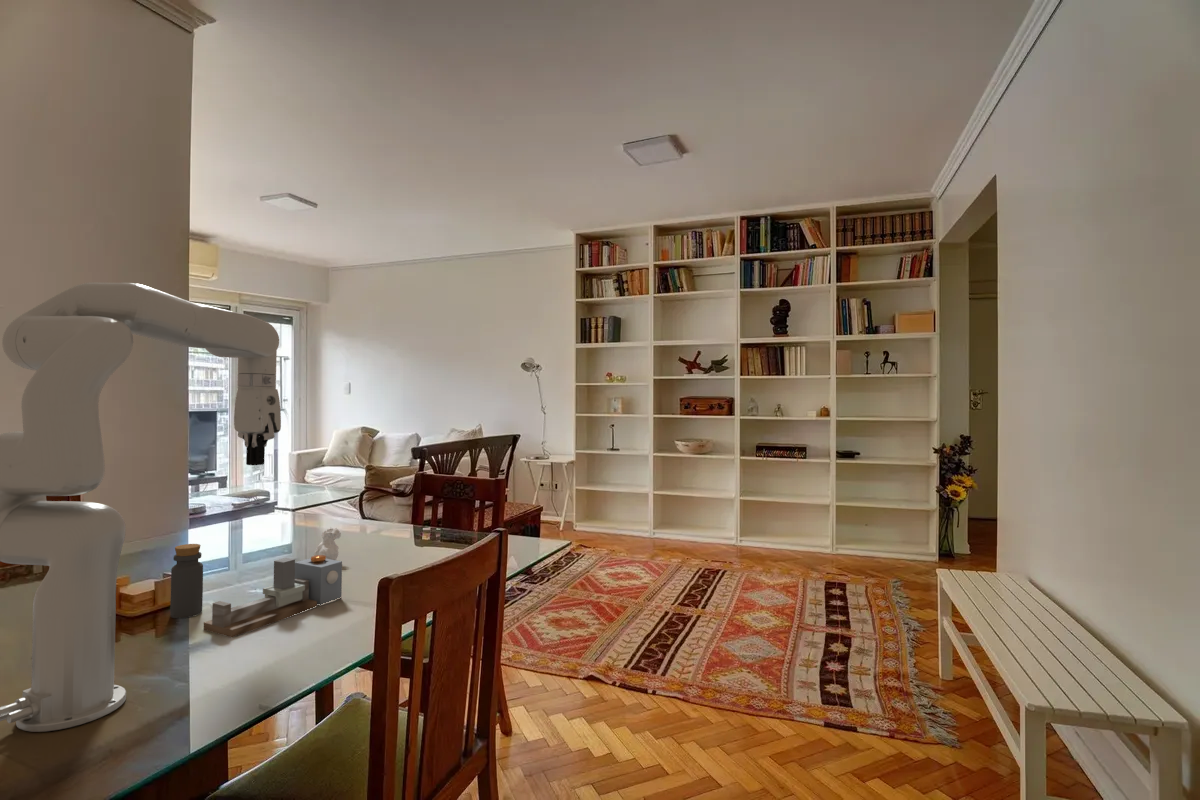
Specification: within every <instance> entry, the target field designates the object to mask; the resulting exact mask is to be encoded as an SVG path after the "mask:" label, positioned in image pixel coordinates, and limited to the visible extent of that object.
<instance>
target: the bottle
mask: <svg viewBox="0 0 1200 800" xmlns="http://www.w3.org/2000/svg"><path fill="white" fill-rule="evenodd" d="M200 549H201V544H199V543H187V544H180V545H177V546H175V547H174V551H175V554H174V555H173V561H175V562H176V564H174V565H173V566H172V567H171V569H170V570H171V571H170V572H171V573H170V575H171V576H170V605H169V606H170V611H169V612H170V618H172V619H186V618H192V617H195V616H198V615H200V614H201V613H202V612H203V595H204V594H203V593H204V592H203V590H204V564H203V563H202V562H200V561H199V559H201V558H202V552H201V551H200Z"/></svg>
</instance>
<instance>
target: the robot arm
mask: <svg viewBox="0 0 1200 800" xmlns="http://www.w3.org/2000/svg"><path fill="white" fill-rule="evenodd" d="M134 335H135V336H139V337H143V338H147V339H152V340H155V341H158V342H159V341H160V342H163V343H167V344H171V345H174V346H179V347H185V348H194V349H205V350H206V351H207V352H208V353H209V354H211V355H213V356H215V357H219V358H235V359H236V358H237V381H236V382H237V387H236V388H237V389H236V391H237V392H236V396H235V400H234V401H235V402H234V411H233V412H234V413H233V427H234V430H235V431H236V432H237V437H238V438H240V439H243V441H244V446H245V447H246V450H245V451H246V459H245V463H246V465H247V466H263V465H265V457H266V455H265V453H266V452H265V450H266V449H265V448H266V447H267V444H268V441H270V440H273V439H275V434H277V433H279V432H280V431H281V427H282V412H281V402H280V401H281V400H280V396H279V391H278V389H277V359H278V357H277V356H278V355H277V351H278V348H279V347H280V346H279V345H280V337H279V334H278V332H277V329H276V328H275V327H274V326H273V325H272V324H271V323H269V322H268V321H266V320H263V319H260V318H258V317H255V316H252V315H249V314H247V313H241V312H236V311H232V310H227V309H223V308H219V307H214V306H210V305H205V304H200V303H197V302H196V303H195V302H192V301H189V300H186V299H183V298H181V297H179V296H176V295H173V294H169V293H168V292H164V291H161V290H159V289H156V288H153V287H150V286H147V285H146V284H145V285H144V284H140V283H136V282H135V283H134V282H84V283H80V284H77V285H74V286H72V287H69V288H68V289H67V288H66V289H65V290H63V291H61V292H60V293H59V292H58V293H57V294H56V295H54V296H52V297H50V298H48V299H47V300H45V301H44V302H42V303H39V304H38V305H36V306H35V307H33V308H31V309H29V310H27V311H26V312H24V313H22V314H20V315H19V316H17V317H16V318H15V319H13V320H12V321H11V322H10V323H9V324H8V325H7V326H6V328H5V330H4V332H3V334H2V338H1V345H2V349H3V352H4V354H5V356H6V357H7V358H8V359H9V360H10V361H11V362H12V363H13V364H15V365H16V366H18V367H21V368H23V369H26V370H30V371H35V373H34V374H33V375H32V376H31V378H30V379H29V381H27V384H26V385H25V388H24V390H23V392H22V396H21V403H20V404H21V405H20V406H21V407H20V408H21V418H22V421H21V422H22V431H20V430H19V431H9V432H4V433H0V562H2V563H5V564H11V565H24V566H25V565H27V566H28V565H31V566H46V567H47V566H48V567H49V568H48V571H47V573H46V574H45V575H44V578H43V579H42V581H40V584H39V585H38V587H37V589H36V591H35V594H34V597H33V602H32V603H33V604H32V642H31V643H32V644H31V651H32V652H31V659H32V660H31V687H30V688H27V689H24V690H23V689H22V696H21V697H19V698H16V699H15V700H14V702H12V703H9V704H5V705H1V706H0V722H2V721H4V720H6V722H7V723H8V724H12V723H14V722H15V723H16V727H17V728H18V729H20V730H21V731H24V732H32V733H33V732H34V733H35V732H37V733H41V732H42V733H43V732H51V731H58V730H64V729H70V728H74V727H78V726H80V725H83V724H87V723H89V722H93V721H95V720H97V719H100V718H102V717H104V716H106V715H108V714H111V713H112V712H114V711H115V710H117V709H118V708H120V707H121V706H122V705H123V704H124V703H125V701H126V699H127V689H126V688H125V687H124V686H121V685H118V684H115V659H116V649H115V648H116V615H117V611H116V608H117V604H116V603H117V602H116V600H117V597H116V596H117V594H116V593H117V580H118V579H117V578H118V576H117V575H118V568H119V563H120V558H121V554H122V549H123V546H124V542H125V538H126V531H127V529H126V528H127V527H126V521H125V519H124V517H123V515H122V514H121V513H120V512H119V511H118V510H117V509H115V508H114V507H112V506H109V505H108V504H104V503H99V502H94V501H77V500H76V501H74V500H73V501H70V500H69V501H67V500H61V501H60V500H58V501H55V500H53V501H52V500H47V496H48V497H68V496H69V497H70V496H71V497H72V496H81V495H83V494H89V493H90V492H92V491H94V490H95V489H97V488H98V487H99V486H100V484H101V483H102V481H103V480H104V476H105V474H106V473H105V472H106V471H105V469H106V466H105V464H106V463H105V453H104V445H103V436H102V429H101V420H100V412H99V411H100V409H99V407H100V406H99V403H100V396H101V393H102V391H103V388H104V387H105V385H106V383H107V382H108V380H109V379H110V378H111V377H112V375H113V374H114V373H115V372H116V371H117V370H118V369H119V368H120V367H121V366H122V365H124V364H125V362H126V361H127V360H128V358H129V357H130V355H131V354H132V351H133V348H134Z"/></svg>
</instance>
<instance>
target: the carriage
mask: <svg viewBox="0 0 1200 800" xmlns="http://www.w3.org/2000/svg"><path fill="white" fill-rule="evenodd" d="M295 562H296V559H294V558H290V557H284V558H279V559H276V560H273V585H270V586H267V587H263V588H262V594H263V595H264V598H265V597H269V596H275V597H276V606H277V607H280V606H283V605H286V604H289V603H292V602H295V601H298V600H301V599H302V597H303V591H304V590H305V585H302V584H297V583H295Z"/></svg>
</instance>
